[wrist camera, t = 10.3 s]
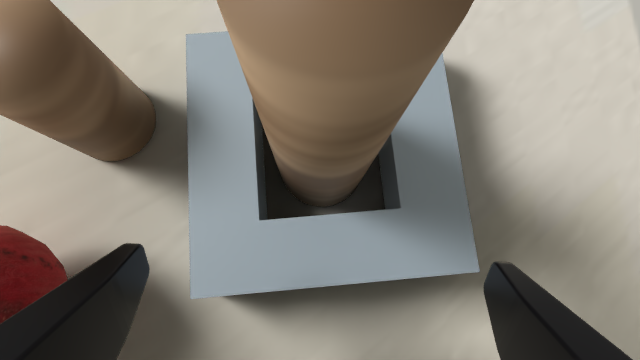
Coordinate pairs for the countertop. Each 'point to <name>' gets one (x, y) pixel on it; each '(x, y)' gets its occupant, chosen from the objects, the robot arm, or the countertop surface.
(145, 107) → the walnut peg short
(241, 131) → the collar block
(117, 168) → the countertop surface
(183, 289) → the countertop surface
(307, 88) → the walnut peg long
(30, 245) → the onion
